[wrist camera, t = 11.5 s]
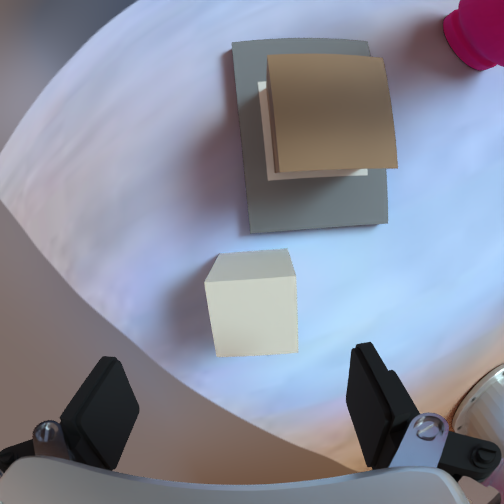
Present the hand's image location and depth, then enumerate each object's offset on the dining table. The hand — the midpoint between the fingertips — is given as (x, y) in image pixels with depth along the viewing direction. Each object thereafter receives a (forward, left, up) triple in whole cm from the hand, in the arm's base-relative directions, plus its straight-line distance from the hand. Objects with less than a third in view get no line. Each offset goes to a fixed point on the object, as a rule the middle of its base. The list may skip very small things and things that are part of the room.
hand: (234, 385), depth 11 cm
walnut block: (+11, -6, -11) cm, 16 cm away
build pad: (+11, -6, -12) cm, 17 cm away
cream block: (0, -1, -12) cm, 12 cm away
